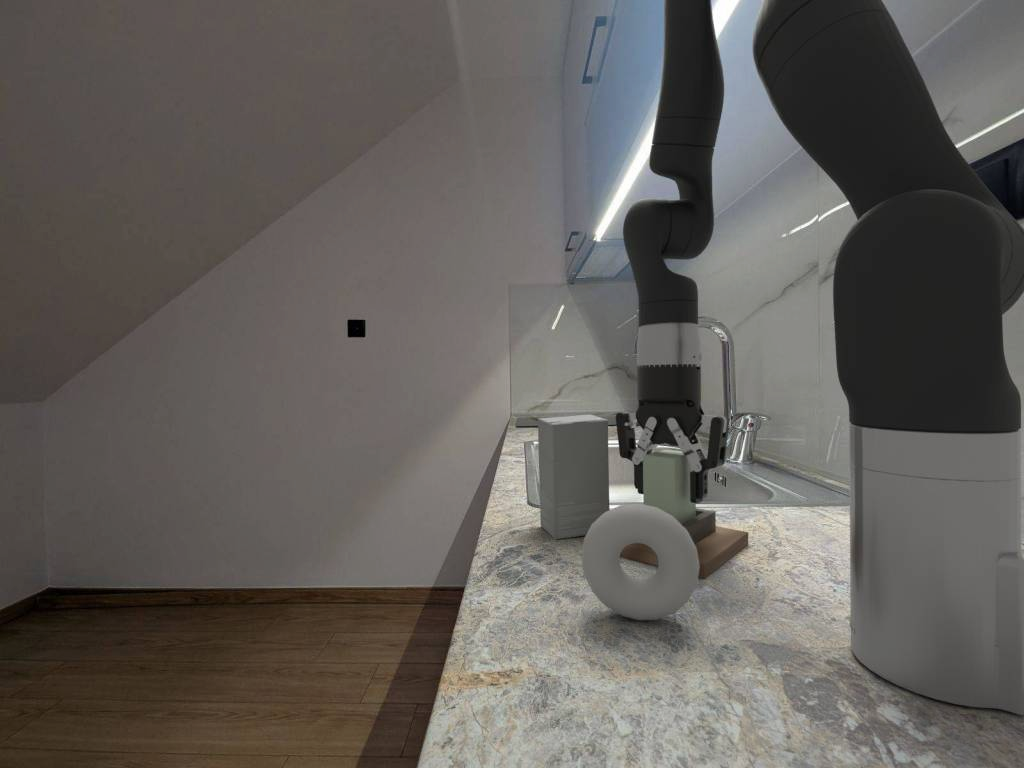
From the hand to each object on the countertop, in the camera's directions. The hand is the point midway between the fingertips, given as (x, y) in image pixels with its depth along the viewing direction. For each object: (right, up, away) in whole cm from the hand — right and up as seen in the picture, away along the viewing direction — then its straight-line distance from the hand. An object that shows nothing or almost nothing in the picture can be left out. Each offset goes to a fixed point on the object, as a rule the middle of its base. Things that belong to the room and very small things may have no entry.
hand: (669, 497), depth 61 cm
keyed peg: (0, -5, 0) cm, 5 cm away
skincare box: (-11, -6, +7) cm, 14 cm away
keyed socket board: (0, -6, 0) cm, 6 cm away
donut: (-8, -7, -18) cm, 21 cm away
